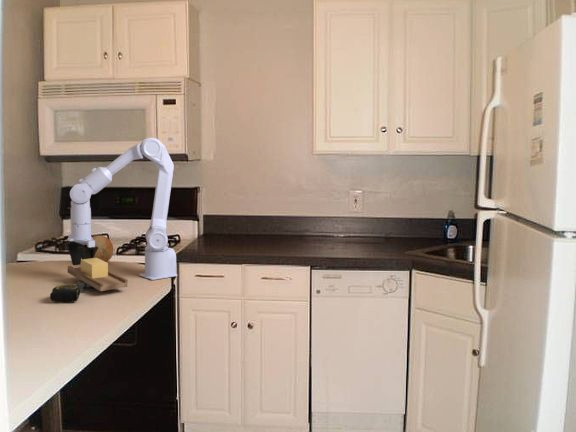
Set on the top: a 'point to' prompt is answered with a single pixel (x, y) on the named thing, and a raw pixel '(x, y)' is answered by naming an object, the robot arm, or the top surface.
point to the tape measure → (65, 293)
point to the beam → (99, 280)
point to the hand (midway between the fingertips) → (81, 267)
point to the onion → (103, 248)
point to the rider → (94, 267)
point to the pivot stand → (84, 287)
